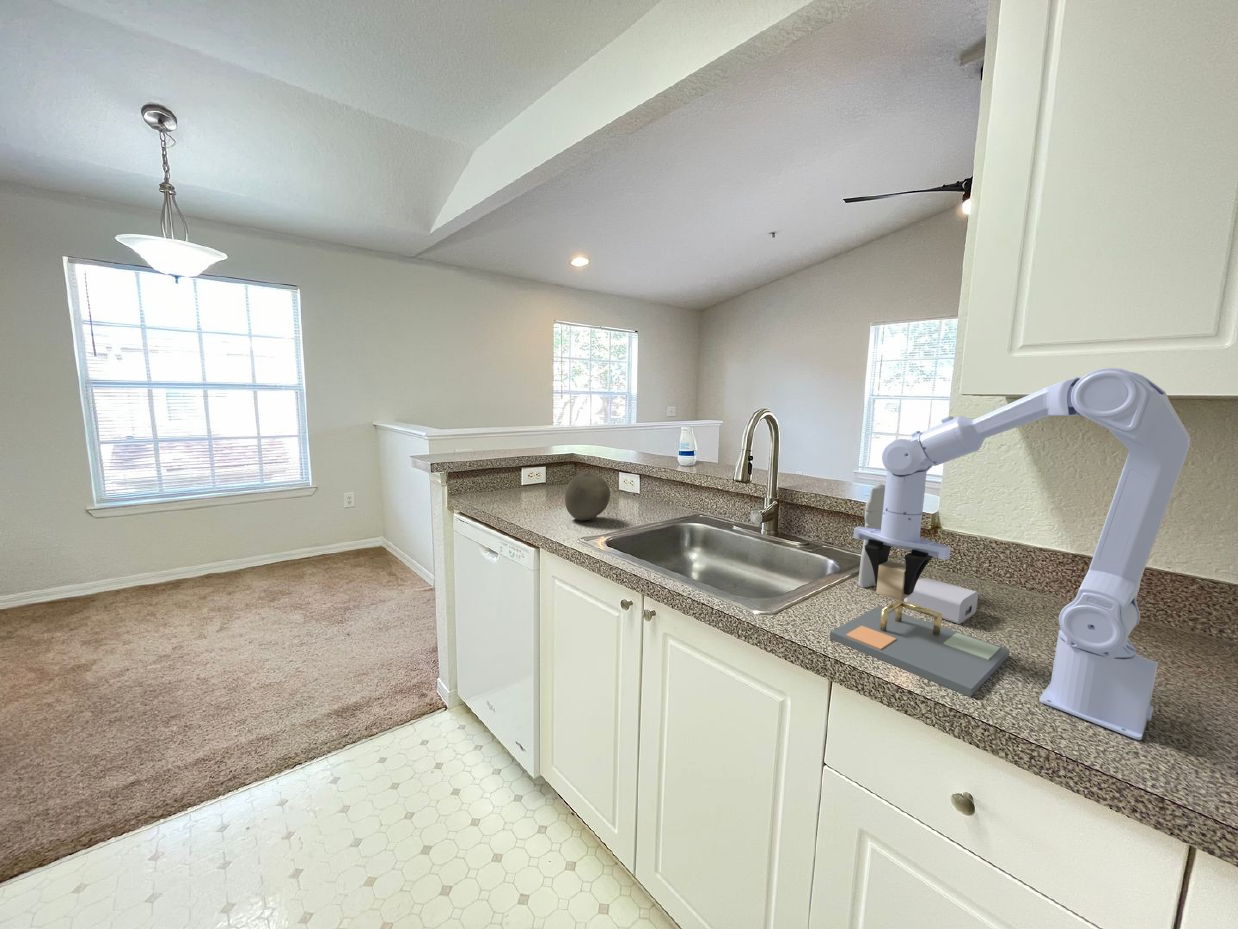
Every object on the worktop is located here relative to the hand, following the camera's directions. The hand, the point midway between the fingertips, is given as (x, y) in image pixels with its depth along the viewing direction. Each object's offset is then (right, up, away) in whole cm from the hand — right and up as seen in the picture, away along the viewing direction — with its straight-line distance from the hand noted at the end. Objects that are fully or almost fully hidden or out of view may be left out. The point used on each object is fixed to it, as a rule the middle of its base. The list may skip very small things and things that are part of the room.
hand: (894, 588), depth 84 cm
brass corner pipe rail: (+2, -7, -1) cm, 7 cm away
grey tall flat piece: (+9, -5, +25) cm, 27 cm away
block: (0, -1, 0) cm, 1 cm away
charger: (+13, -7, +13) cm, 20 cm away
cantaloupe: (-57, +3, +72) cm, 92 cm away
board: (+2, -9, -4) cm, 10 cm away
